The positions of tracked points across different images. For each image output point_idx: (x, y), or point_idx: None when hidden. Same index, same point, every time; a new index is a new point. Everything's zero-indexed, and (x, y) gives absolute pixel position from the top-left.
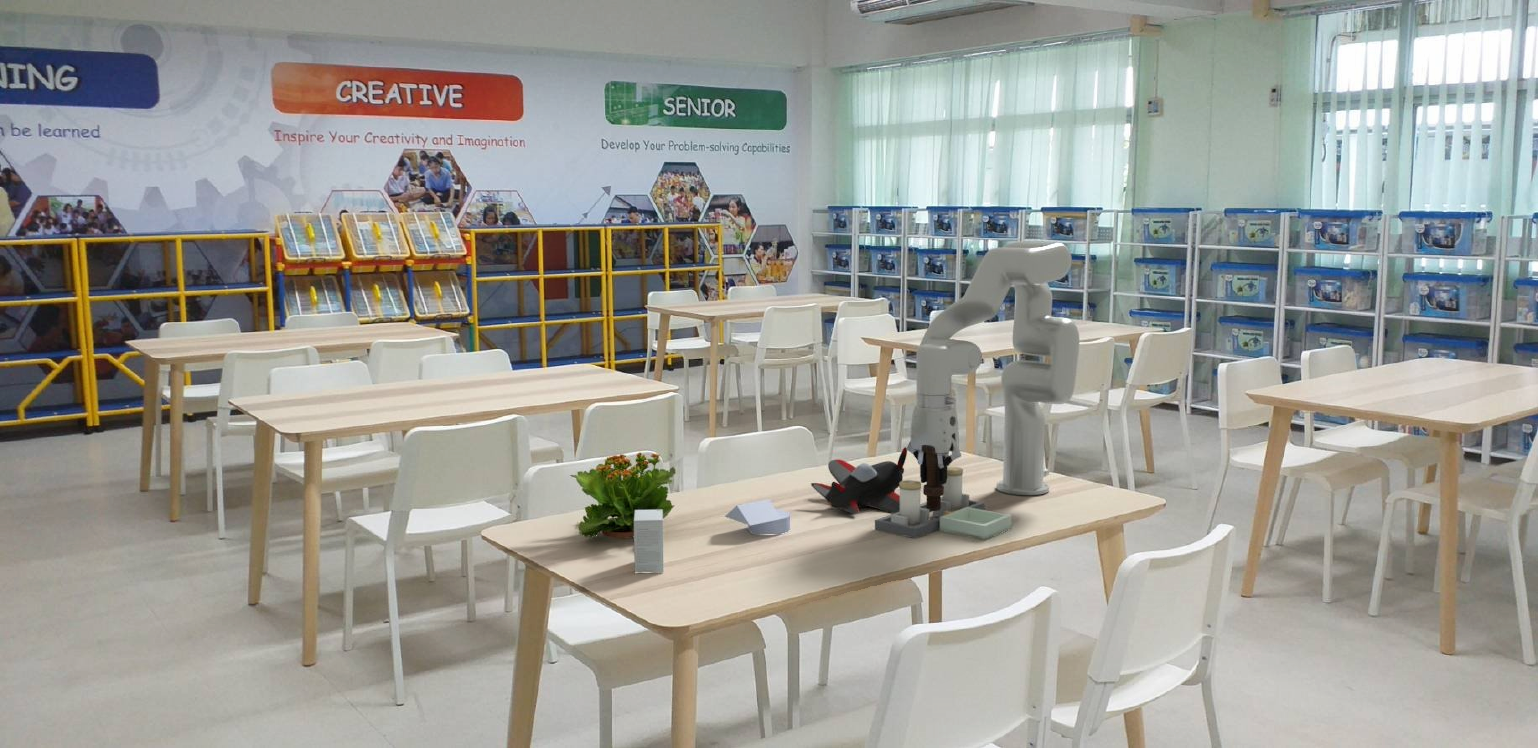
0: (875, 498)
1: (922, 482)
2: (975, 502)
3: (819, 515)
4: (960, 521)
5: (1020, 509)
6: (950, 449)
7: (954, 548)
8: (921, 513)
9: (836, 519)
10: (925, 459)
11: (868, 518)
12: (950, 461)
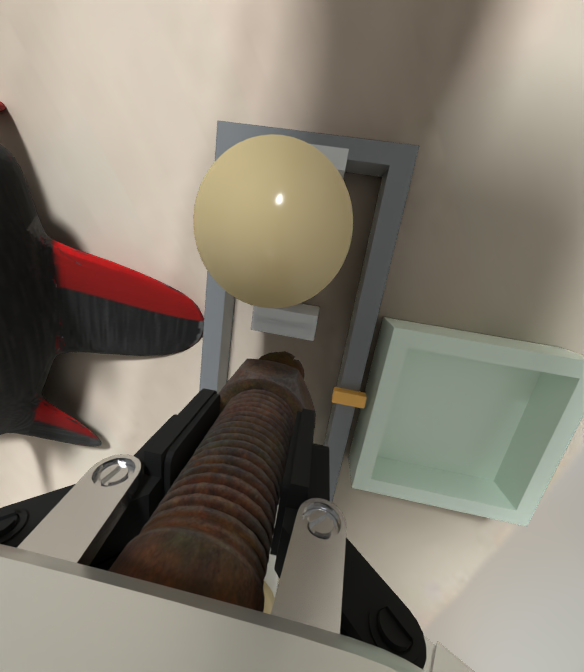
0: (55, 332)
1: None
2: (378, 164)
3: (31, 453)
4: (430, 504)
5: (557, 15)
6: (336, 660)
7: (436, 569)
8: None
9: (82, 467)
10: (121, 522)
11: (133, 428)
12: (373, 596)
